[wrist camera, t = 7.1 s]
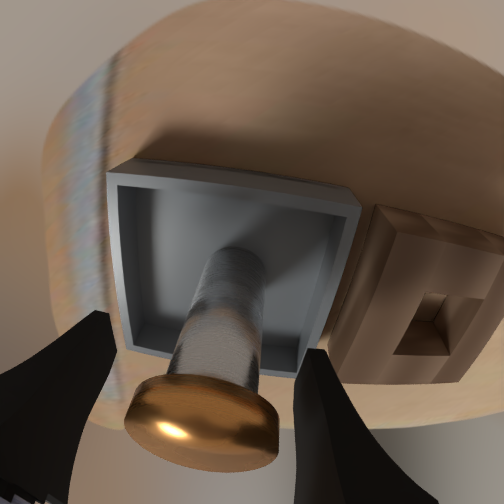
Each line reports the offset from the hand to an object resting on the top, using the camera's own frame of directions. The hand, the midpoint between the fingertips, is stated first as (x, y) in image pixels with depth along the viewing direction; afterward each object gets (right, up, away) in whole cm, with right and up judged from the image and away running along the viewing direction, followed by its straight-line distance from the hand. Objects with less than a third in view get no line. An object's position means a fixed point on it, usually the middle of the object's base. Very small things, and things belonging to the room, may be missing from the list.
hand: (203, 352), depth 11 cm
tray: (0, +3, +5) cm, 6 cm away
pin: (+1, +3, +5) cm, 5 cm away
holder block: (+11, +1, +5) cm, 12 cm away
